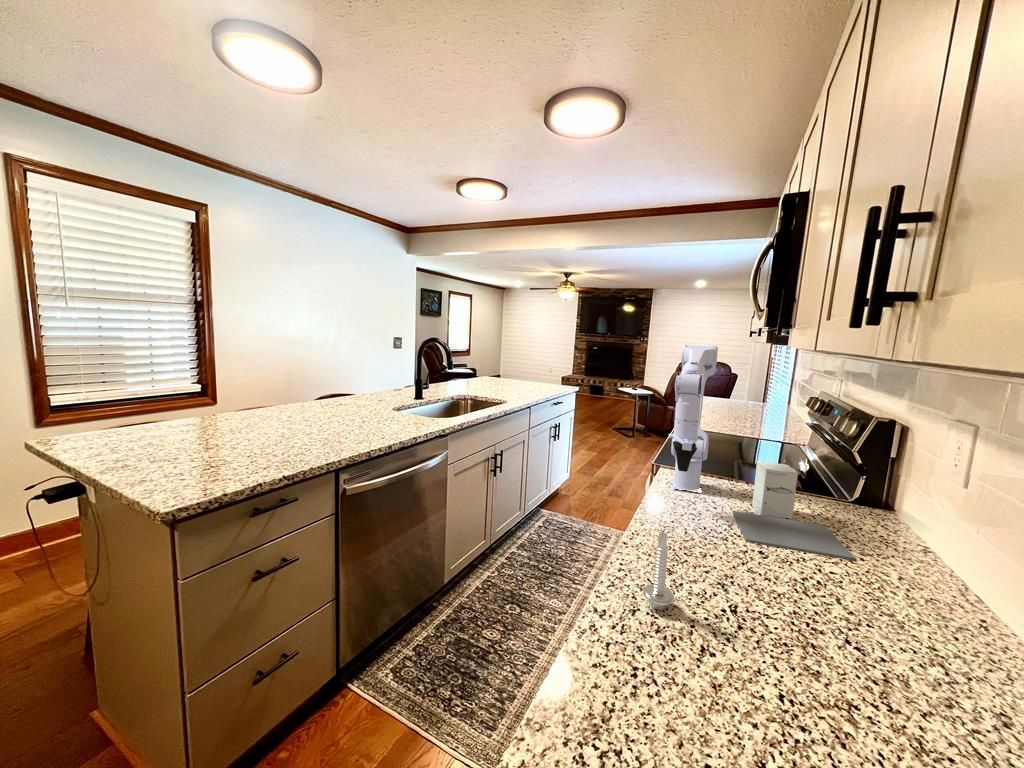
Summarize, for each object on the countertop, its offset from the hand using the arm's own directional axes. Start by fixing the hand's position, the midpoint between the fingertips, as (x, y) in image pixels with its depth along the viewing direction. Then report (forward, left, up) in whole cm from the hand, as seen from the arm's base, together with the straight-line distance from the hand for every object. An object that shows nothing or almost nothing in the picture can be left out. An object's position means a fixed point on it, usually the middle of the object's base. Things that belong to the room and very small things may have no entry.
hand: (682, 470), depth 104 cm
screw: (+44, -6, -11) cm, 46 cm away
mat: (+5, +23, -10) cm, 26 cm away
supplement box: (-7, +23, -11) cm, 26 cm away
